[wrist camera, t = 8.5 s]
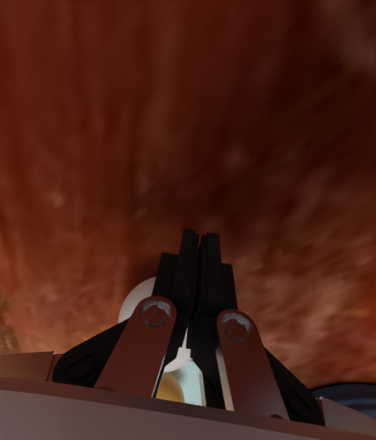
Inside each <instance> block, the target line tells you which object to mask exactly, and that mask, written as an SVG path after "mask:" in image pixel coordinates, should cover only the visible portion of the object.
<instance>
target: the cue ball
mask: <svg viewBox="0 0 376 440" xmlns="http://www.w3.org/2000/svg"><path fill="white" fill-rule="evenodd" d="M155 279H156V277H153V278H150V279H148V280H145V281H143V282H142V283H140V284H139V285H137V286H136V287H135V288H134V289H133V290H132V291H131V292H130V293H129V295H128V296H127V297H126V299H125V301H124V303H123V305H122V307H121V310H120V313H119V318H118V323H120V322H122V321H124V320H126V319H128V318H130V317H131V315H132V313H133V311H134V309H135V307H136V306H137V304H138V303H139V302H140V301H141V300H143V299H144V298H147V297H149V296H151V294H152V291H153V287H154V283H155ZM186 338H187V331H186V334H185V338H184V342H183V346H182V348H180V347H179V350H178V353H177V357H176V359H175V360H173V361H172V362H171V363H169V364H168V365H167V366H165V370H164V372H170V371H173V370H176V369H178V368H180V367H182V366H184V365H185V364H187V363H188V362H189V361H190V360H191V359H192V358H190V349H186Z"/></svg>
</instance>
